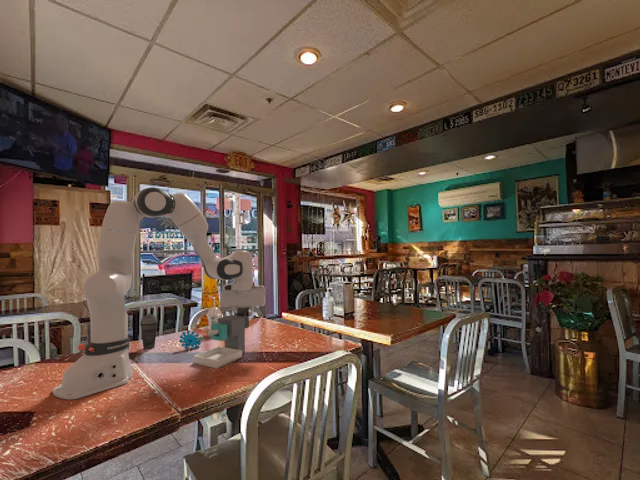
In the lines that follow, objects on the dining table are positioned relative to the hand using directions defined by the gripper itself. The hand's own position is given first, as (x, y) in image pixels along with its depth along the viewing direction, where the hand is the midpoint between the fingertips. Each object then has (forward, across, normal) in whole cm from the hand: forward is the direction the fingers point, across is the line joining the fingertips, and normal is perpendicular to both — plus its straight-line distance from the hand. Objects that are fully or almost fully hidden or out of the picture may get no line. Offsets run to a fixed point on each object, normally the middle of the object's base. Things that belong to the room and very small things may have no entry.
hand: (243, 316), depth 143 cm
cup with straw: (+15, +22, -28) cm, 39 cm away
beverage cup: (+15, +45, -4) cm, 47 cm away
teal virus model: (+15, +25, -4) cm, 29 cm away
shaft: (+5, +4, +8) cm, 11 cm away
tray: (+15, +7, +13) cm, 21 cm away
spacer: (+7, +7, +13) cm, 16 cm away
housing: (+15, +4, +6) cm, 17 cm away
